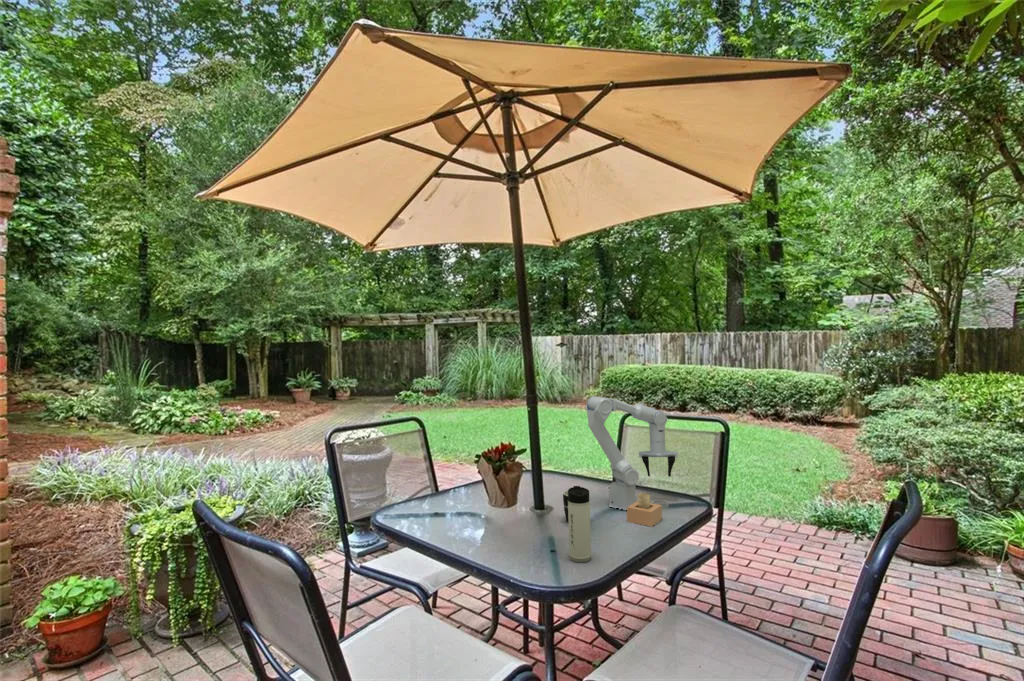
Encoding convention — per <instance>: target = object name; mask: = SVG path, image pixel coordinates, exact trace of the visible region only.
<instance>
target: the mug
mask: <svg viewBox="0 0 1024 681" xmlns="http://www.w3.org/2000/svg"><path fill="white" fill-rule="evenodd" d="M568 490H569V489H567V490H565V491H563V492H562V500H563V510H564V516H565V519H566V520H565V521H566V522H567V524H569V521H568Z"/></svg>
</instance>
